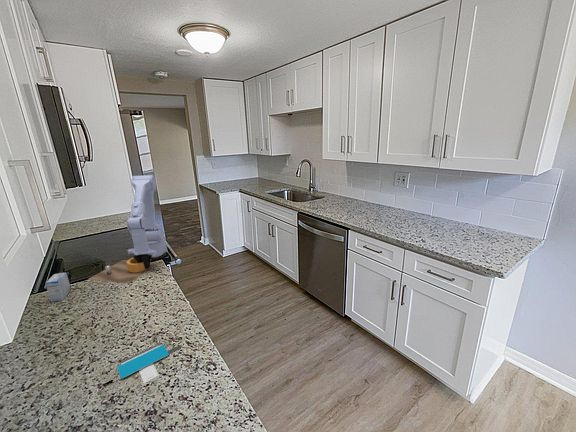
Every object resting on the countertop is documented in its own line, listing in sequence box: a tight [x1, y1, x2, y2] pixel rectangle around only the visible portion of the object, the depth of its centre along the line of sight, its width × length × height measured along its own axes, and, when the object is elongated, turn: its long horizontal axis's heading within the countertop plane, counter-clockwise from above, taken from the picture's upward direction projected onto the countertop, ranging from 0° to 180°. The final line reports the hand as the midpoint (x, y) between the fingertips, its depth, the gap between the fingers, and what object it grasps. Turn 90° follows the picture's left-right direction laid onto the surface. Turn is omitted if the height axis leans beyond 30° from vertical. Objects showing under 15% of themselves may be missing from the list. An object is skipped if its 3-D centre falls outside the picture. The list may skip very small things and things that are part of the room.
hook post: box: [104, 264, 112, 275], centre depth 123 cm, size 2×2×4 cm
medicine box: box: [45, 272, 72, 302], centre depth 109 cm, size 8×4×9 cm, turn 21°
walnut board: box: [87, 259, 160, 284], centre depth 127 cm, size 20×22×2 cm
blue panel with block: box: [117, 342, 182, 385], centre depth 74 cm, size 20×12×2 cm, turn 130°
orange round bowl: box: [127, 257, 146, 273], centre depth 128 cm, size 9×9×4 cm
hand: (145, 268), depth 127 cm, fingers closed on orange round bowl, 2 cm apart
